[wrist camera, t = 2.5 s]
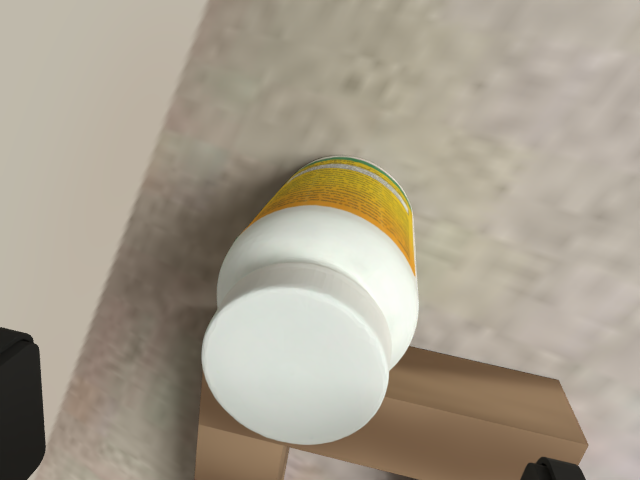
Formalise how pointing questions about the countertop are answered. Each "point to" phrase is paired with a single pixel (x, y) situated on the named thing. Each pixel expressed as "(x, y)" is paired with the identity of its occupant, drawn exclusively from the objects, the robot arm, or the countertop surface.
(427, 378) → the socket block
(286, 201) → the supplement bottle
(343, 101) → the countertop surface
